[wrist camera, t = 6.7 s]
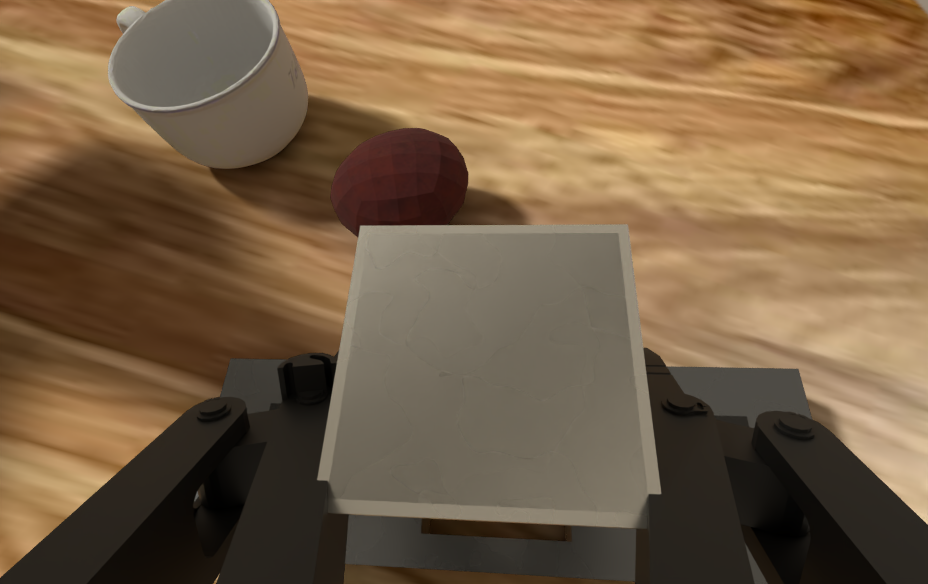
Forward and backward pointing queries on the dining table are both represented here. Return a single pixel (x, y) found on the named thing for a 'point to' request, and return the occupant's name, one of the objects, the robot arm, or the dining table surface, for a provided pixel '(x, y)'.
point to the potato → (400, 181)
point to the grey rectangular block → (492, 378)
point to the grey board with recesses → (585, 547)
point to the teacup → (211, 78)
